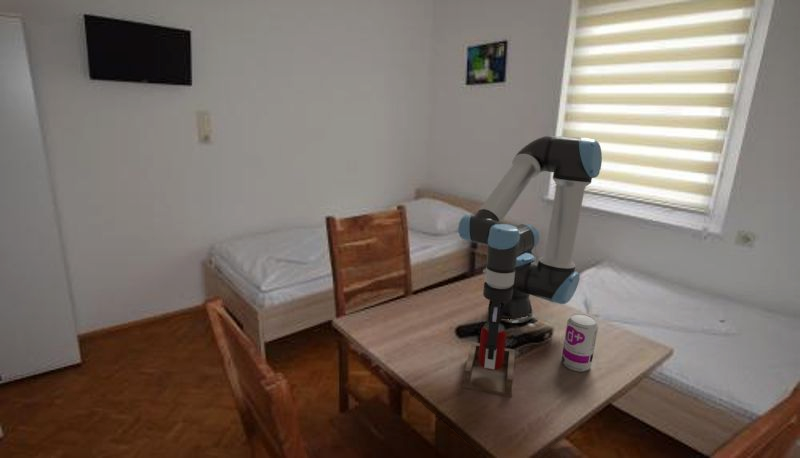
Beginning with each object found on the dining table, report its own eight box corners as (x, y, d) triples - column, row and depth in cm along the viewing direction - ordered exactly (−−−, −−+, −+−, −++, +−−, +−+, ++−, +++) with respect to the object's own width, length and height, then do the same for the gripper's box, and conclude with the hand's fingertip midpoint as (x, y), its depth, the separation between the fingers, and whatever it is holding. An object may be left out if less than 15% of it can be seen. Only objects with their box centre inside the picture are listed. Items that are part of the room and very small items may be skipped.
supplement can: (577, 375, 123) (585, 328, 119) (555, 360, 130) (562, 315, 125) (596, 368, 126) (605, 322, 122) (574, 354, 133) (581, 310, 129)
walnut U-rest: (469, 357, 130) (470, 341, 129) (513, 365, 127) (515, 349, 125) (462, 386, 116) (463, 370, 115) (511, 397, 113) (513, 380, 111)
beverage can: (502, 359, 122) (506, 321, 119) (502, 373, 116) (507, 334, 112) (478, 356, 123) (481, 318, 120) (477, 370, 117) (481, 330, 113)
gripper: (487, 268, 123) (480, 340, 129) (480, 296, 104) (472, 378, 111) (514, 272, 121) (506, 344, 127) (512, 301, 102) (502, 384, 109)
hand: (490, 360), depth 119 cm, fingers closed on beverage can, 7 cm apart
